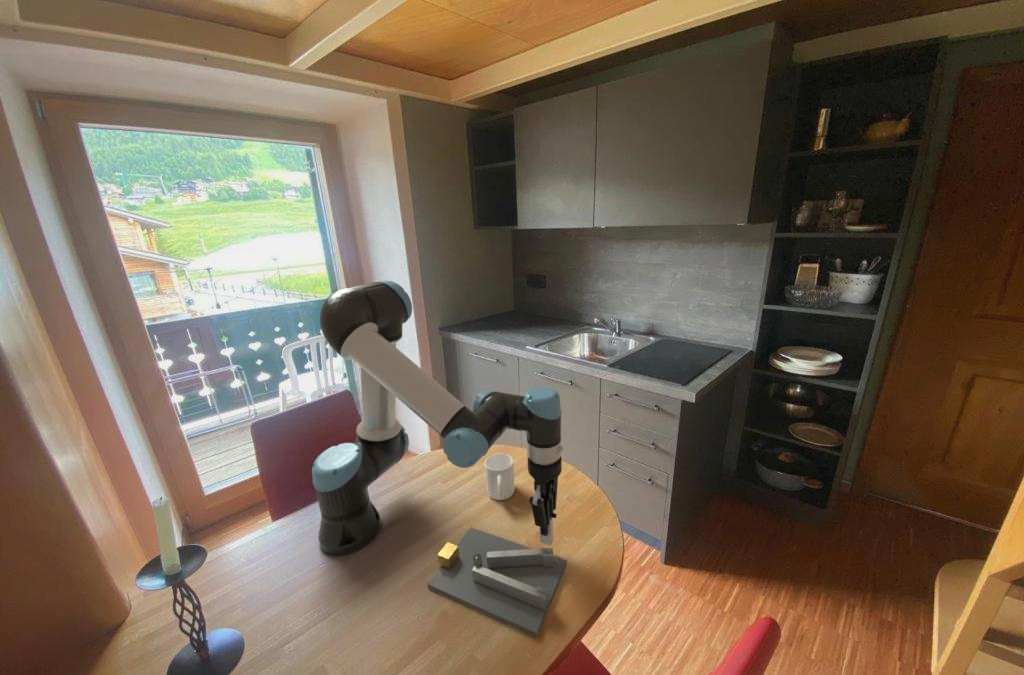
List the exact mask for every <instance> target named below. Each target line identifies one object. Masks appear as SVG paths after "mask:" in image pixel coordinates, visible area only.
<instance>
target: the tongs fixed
mask: <svg viewBox="0 0 1024 675" xmlns="http://www.w3.org/2000/svg"><path fill="white" fill-rule="evenodd" d="M473 560H474V568H473V569H472V575H473V581H475V582H477V583H480V584H482V585H484V586H487V587H489V588H492V589H494V590H496V591H499V592H501V593H504V594H506V595H508V596H511V597H513V598H516V599H518V600H520V601H523V602H525V603H528V604H530V605H532V606H535V607H537V608H540V609H542V610H544V611H546V608H547V606H548V604H549V590H548V589H545V588H542V587H540V586H538V587H537V588H535V587H532V586H529V585H527V584H524V583H522V582H519V581H517V580H514V579H512V578H509V577H507V576H504V575H502V574H499V573H496V572H494V571H491V570H489V569H486V568H484V567H482V558H481V555H480V554H476V555H474V557H473Z"/></svg>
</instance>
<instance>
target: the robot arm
mask: <svg viewBox="0 0 1024 675" xmlns="http://www.w3.org/2000/svg"><path fill="white" fill-rule="evenodd" d="M412 304H413V303H412V300H411V298H410V296H409V294H408V292H406V291H405V288H404V287H402V286H401V285H400V284H398V283H397V282H395V281H392V280H381V281H379V280H375V281H372V282H369V283H364V284H360V285H356V286H352V287H346V288H341V289H339V290H336V291H334V292H332V294H330V295H329V296H328V297H327V298H326V299H325V301H324V302H323V304H322V305H321V308H320V313H319V324H320V329H321V333H322V336H323V337H324V339H325V340H326V341H327V343H328V345H329V346H330V347H331V348H332V350H334V352H336V354H338V355H339V356H340V357H341V358H342V359H343V360H353V362H355V364H357V365H358V366H360V383H361V384H360V390H361V391H360V393H361V419H362V420H361V421H360V422H359V423H358V424H357V426H356V440H355V441H354V442H353V443H352V442H343V443H339V444H338V445H332V446H330V447H329V448H327V449H326V450H324V451H322V452H321V453H320V454H319V455H318V456H317V457H316V459H315V461H314V462H313V464H312V468H311V469H312V470H311V474H312V484H313V487H314V490H315V495H316V498H317V502H318V507H319V511H320V515H321V516H320V523H319V524H320V525H319V530H318V535H317V537H318V542H319V546H320V548H321V550H322V551H323V552H324V553H326V554H328V555H331V556H344V555H345V556H346V555H350V554H353V553H356V552H357V551H360V550H362V549H363V548H365V547H367V546H368V545H369V544H371V543H372V542H373V541H374V540H375V539H376V538H377V536H378V534H379V533H380V531H381V529H382V528H381V527H382V520H381V516H380V513H379V511H378V509H377V507H376V506H375V505H374V503H373V502H372V500H371V498H370V494H369V493H370V492H369V489H368V488H369V487H370V485H372V484H373V483H374V482H376V480H378V479H379V478H381V476H383V475H384V474H385V473H387V472H388V471H389V470H390V469H391V468H393V467H394V466H395V465H396V464H398V463H399V462H400V461H401V460H402V459H403V457H405V455H406V454H407V452H408V449H409V448H410V440H409V439H410V438H409V435H408V433H407V432H405V431H406V428H405V427H404V426H403V425H402V424H401V422H400V421H399V420H398V419H396V398H397V399H398V400H399V401H400V402H402V404H404V405H405V406H406V407H407V408H408V409H409V410H411V411H412V412H413V414H415V415H417V417H418V418H420V419H421V420H422V421H423V422H425V423H426V424H427V425H428V426H429V427H430V428H431V429H432V430H434V431H435V432H436V433H437V434H439V436H440V437H441V438H442V439H444V440H443V441H442V451H443V453H444V454H445V455H446V456H447V457H446V458H447V460H448V461H449V462H450V463H451V464H452V465H453V466H456V467H459V468H463V469H466V468H470V467H473V466H474V465H476V463H477V462H479V461H480V460H481V459H482V458H483V457H484V456H486V454H488V452H489V450H490V449H491V447H492V446H493V445H494V444H495V443H496V442H497V441H498V440H499V438H500V437H501V436H502V435H503V434H504V433H505V432H506V431H507V429H509V430H515V431H519V432H520V431H522V432H525V435H526V455H527V472H528V473H529V475H530V476H531V477H532V479H533V480H534V481H533V489H534V495H533V496H530V497H529V501H528V502H529V503H530V505H531V509H532V515H533V519H534V525H535V526H537V527H539V543H540V544H544V545H546V546H551V547H552V544H553V543H554V526H553V524H554V522H553V521H554V520H553V519H556V518H557V513H554V511H556V509H557V501H558V500H557V498H558V497H557V496H558V484H559V482H558V481H559V476H560V475H561V473H562V469H563V468H562V467H563V466H562V451H563V450H564V446H562V409H561V408H562V407H561V397H560V394H559V392H558V391H557V390H555V389H553V388H551V387H547V386H541V387H539V386H537V387H533V388H530V389H528V390H527V391H526V392H525V393H524V394H525V395H524V396H523V395H518V394H512V393H507V392H501V391H497V390H493V391H490V390H482V391H480V392H479V393H478V394H477V395H476V398H475V399H474V401H473V405H472V410H471V409H470V408H469V407H467V406H466V405H465V404H464V403H462V402H461V401H460V400H459V399H458V398H457V397H455V396H454V395H453V394H452V393H450V392H449V391H448V390H447V389H446V388H445V387H443V385H441V384H440V383H439V382H438V381H437V380H435V379H434V378H433V377H431V375H429V374H428V373H426V372H425V371H424V370H423V369H422V368H421V367H419V366H418V364H416V363H415V362H413V361H412V360H411V359H410V357H408V356H406V355H405V354H404V353H403V352H402V351H401V350H399V349H398V348H397V343H398V342H399V341H400V340H401V339H402V338H403V324H405V323H406V322H407V321H409V320H410V318H411V316H412V313H413V305H412Z"/></svg>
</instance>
